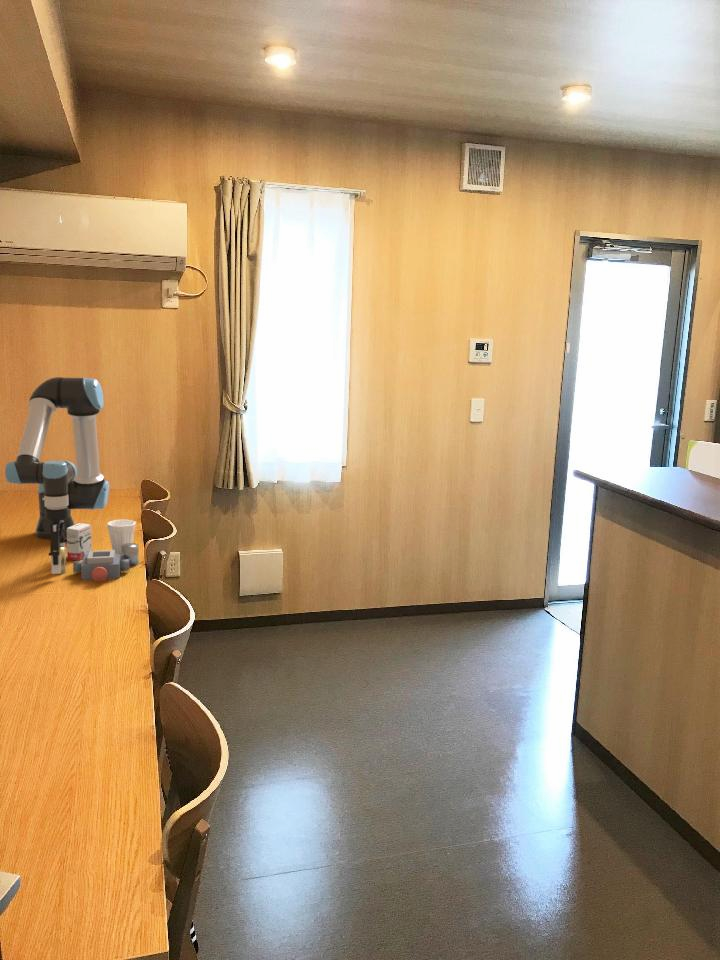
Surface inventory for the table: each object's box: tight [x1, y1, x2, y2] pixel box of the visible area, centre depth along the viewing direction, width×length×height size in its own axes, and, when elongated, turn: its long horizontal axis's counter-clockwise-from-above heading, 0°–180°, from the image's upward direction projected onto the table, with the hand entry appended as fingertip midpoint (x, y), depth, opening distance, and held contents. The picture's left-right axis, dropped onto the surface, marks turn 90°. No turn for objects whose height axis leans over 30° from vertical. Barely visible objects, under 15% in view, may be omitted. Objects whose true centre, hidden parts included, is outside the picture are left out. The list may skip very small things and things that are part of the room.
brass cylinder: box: [53, 546, 67, 576], centre depth 243 cm, size 4×4×9 cm
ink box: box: [66, 522, 93, 561], centre depth 260 cm, size 9×5×12 cm, turn 168°
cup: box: [106, 519, 136, 554], centre depth 262 cm, size 10×10×13 cm
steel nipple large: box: [121, 542, 140, 568], centre depth 255 cm, size 6×6×7 cm
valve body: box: [72, 549, 130, 582], centre depth 242 cm, size 16×18×7 cm
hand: (59, 567), depth 243 cm, fingers open, 13 cm apart
